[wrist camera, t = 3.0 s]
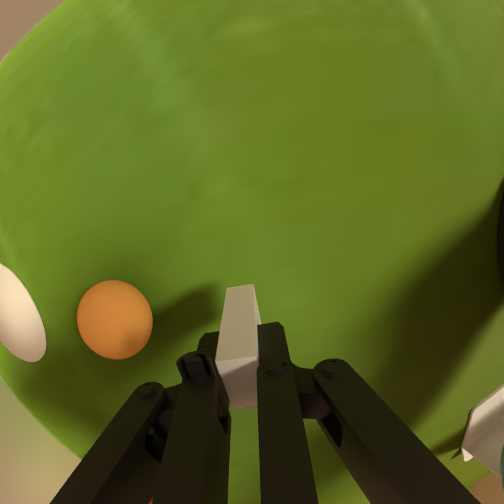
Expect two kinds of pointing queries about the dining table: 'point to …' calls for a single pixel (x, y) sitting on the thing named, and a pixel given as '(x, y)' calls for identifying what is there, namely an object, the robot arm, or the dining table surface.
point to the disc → (20, 319)
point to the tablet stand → (486, 432)
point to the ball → (114, 319)
